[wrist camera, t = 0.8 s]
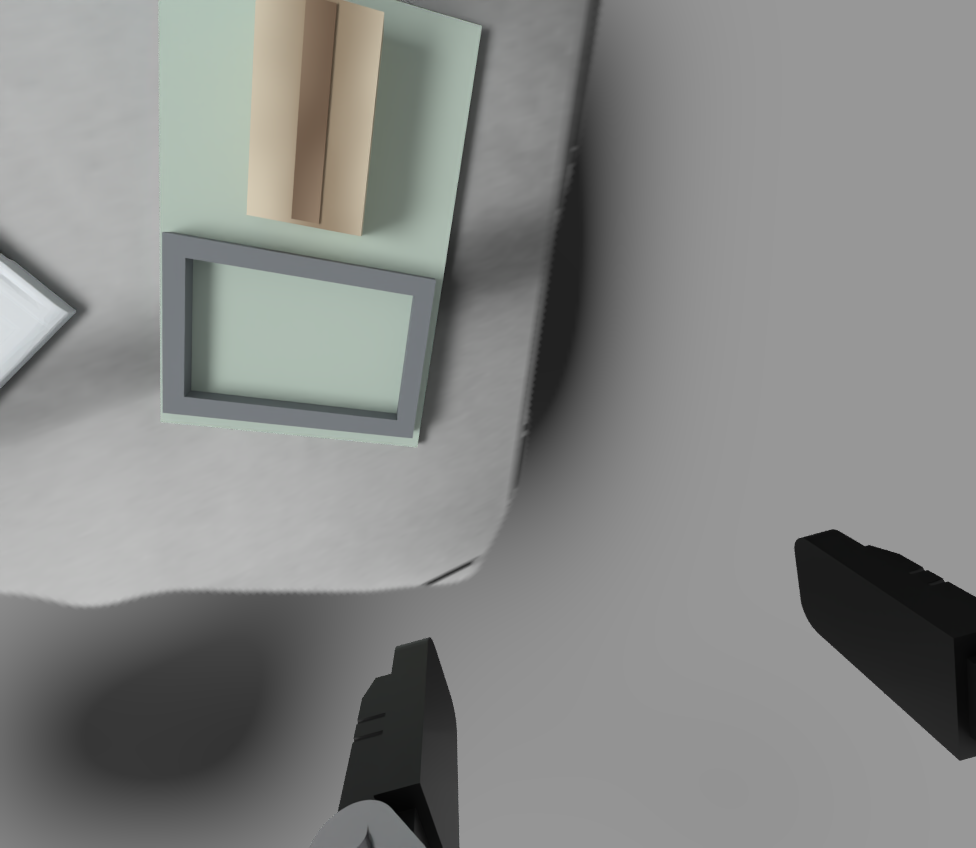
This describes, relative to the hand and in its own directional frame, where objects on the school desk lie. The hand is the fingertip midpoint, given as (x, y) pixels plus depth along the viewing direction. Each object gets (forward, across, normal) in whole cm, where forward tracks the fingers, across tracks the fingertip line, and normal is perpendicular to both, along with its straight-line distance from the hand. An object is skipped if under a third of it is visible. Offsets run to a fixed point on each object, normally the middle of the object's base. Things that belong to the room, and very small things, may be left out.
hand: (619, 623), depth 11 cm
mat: (+20, +8, -12) cm, 25 cm away
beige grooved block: (+19, +6, -17) cm, 26 cm away
